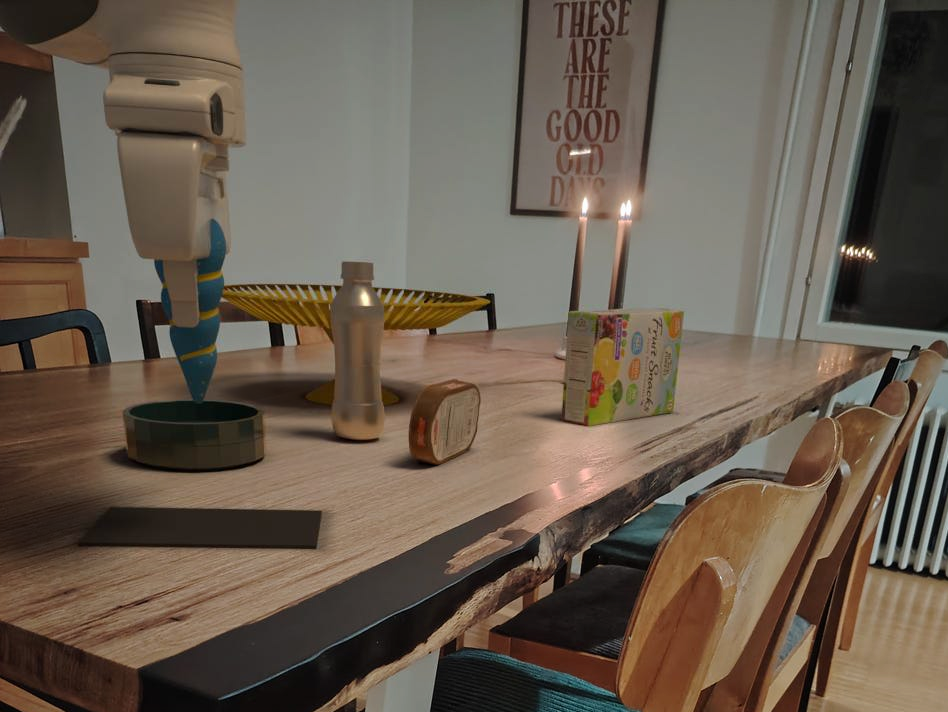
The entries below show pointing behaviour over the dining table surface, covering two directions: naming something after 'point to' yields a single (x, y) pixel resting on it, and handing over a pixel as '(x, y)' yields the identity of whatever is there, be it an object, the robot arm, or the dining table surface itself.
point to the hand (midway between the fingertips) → (194, 322)
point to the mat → (205, 528)
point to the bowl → (194, 434)
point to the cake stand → (319, 316)
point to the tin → (444, 421)
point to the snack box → (620, 364)
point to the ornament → (199, 341)
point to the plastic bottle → (357, 354)
